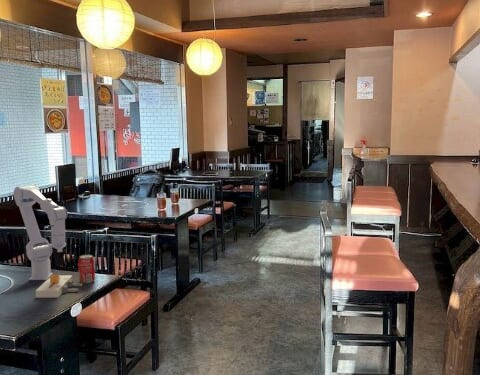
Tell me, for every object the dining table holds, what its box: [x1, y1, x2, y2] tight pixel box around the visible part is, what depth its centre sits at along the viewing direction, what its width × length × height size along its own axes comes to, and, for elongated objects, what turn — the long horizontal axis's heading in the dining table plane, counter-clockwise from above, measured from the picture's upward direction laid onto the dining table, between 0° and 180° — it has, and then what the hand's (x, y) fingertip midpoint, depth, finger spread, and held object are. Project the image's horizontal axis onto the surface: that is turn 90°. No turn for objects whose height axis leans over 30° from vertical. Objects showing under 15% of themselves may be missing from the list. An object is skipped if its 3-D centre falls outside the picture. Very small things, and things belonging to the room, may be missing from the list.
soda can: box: [77, 254, 96, 284], centre depth 210 cm, size 7×7×12 cm
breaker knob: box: [49, 273, 60, 283], centre depth 199 cm, size 2×3×3 cm
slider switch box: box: [35, 274, 73, 299], centre depth 200 cm, size 20×9×3 cm, turn 4°
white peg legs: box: [62, 280, 84, 294], centre depth 200 cm, size 9×6×2 cm, turn 4°
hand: (59, 264), depth 205 cm, fingers open, 3 cm apart
